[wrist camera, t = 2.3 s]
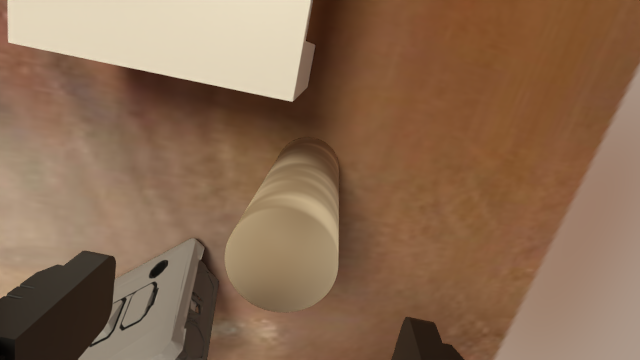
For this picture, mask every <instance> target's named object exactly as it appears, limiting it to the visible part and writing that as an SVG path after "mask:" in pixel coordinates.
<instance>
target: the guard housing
mask: <svg viewBox="0 0 640 360" xmlns="http://www.w3.org/2000/svg"><path fill="white" fill-rule="evenodd" d="M312 3H313V0H8V42H9V43H13V44H18V45H23V46H28V47H33V48H37V49H42V50H47V51H52V52H57V53H61V54H66V55H71V56H76V57H80V58H85V59H90V60H95V61H100V62H104V63H109V64H114V65H119V66H124V67H128V68H133V69H138V70H143V71H148V72H152V73H157V74H162V75H167V76H171V77H176V78H181V79H186V80H191V81H195V82H200V83H205V84H210V85H215V86H219V87H224V88H229V89H234V90H239V91H243V92H248V93H253V94H258V95H263V96H267V97H272V98H277V99H282V100H286V101H291V102H293V101H294V100H295V99H296V98H297V97H298V96H299V95H300V94H301V93H302V92H303V91H304V90H305V89H306V88H307V87H308V82H309V77H310V72H311V66H312V61H313V56H314V50H315V45H314V44H312V43H310V42H307V41H306V36H307V31H308V25H309V20H310V14H311V9H312Z"/></svg>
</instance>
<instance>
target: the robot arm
mask: <svg viewBox="0 0 640 360" xmlns="http://www.w3.org/2000/svg"><path fill="white" fill-rule="evenodd" d="M115 269H116V261H115V258H114V257H113V256H109V255H105V254H100V253H95V252H90V251H82V252H81V253H79V254H78V255H77V256H76V257H74V258H73V259H72V260H70V261H69V262H68V263H66V264H65V265H64V266H62V265H55V266H53V267H50V268H47V269H45V270H42V271H40V272H37V273H35V274H34V275H33V276H31V277H30V278H28V279H27V280H26V281H24V282H23V283H21V285H20V287H18V286H17V287H16V288H15V289H13V290H12V291H10V292H9V293H8V294H7V296H6V297H5V296H3V297H2V298H1V299H0V360H78V359H79V358H80V356H81V355H82V354H83V353H84V352H85V351H86V349H87V348H88V347H89V346H90V345H91V344H92V342H93V341H94V340H95V339H96V338H97V336H98V335H99V334H100V333H101V332H102V330H103V329H104V328H105V326H106V324H107V322H108V320H109V318H110V315H111V311H112V306H113V294H114V282H115ZM391 360H464V359H463V358H462V356H461V355H460V354H459V353H458V352H457V351H456V350H455V349H454V348H453V346H452V345H448V344H444V343H442V340H441V338H440V335H439V333H438V330H437V327H436V325H435V323H434V322H430V321H425V320H420V319H415V318H410V317H406V318H405V320H404V321H403V324H402V327H401V330H400V334H399V337H398V340H397V343H396V347H395V350H394V353H393V356H392V359H391Z"/></svg>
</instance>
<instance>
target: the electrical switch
mask: <svg viewBox="0 0 640 360" xmlns="http://www.w3.org/2000/svg"><path fill="white" fill-rule="evenodd" d="M203 252H204V246H203V245H202V244H201V243H199V242H198V241H197V240H196V239H195V238H192V239H189V240H187V241H185V242H183V243H181V244H180V245H178V246H176V247H174V248H172V249H170V250H168V251H167V252H165V253H163V254H161V255H159V256H157V257H155V258H154V259H152V260H150V261H148V262H146V263H144V264H143V265H141V266H139V267H137V268H135V269H133V270H131V271H130V272H128V273H126V274H124V275H122V276H120V277H118V278H117V279H115V282H114V294H113V306H112V311H111V315H110V318H109V320H108V322H107V324H106V326H105V328H104V329H103V330H102V332H101V333H100V334H99V335H98V336H97V338H96V339H95V340H94V341H93V342H92V344H91V345H90V346H89V347H88V348H87V349H86V351H85V352H84V353H83V354H82V355H81V356H80V358H79V359H78V360H207V357H208V350H209V344H210V337H211V330H212V324H213V317H214V310H215V304H216V297H217V290H218V284H219V281H218V280H217V279H216V278H215V277H214V276H213V275H212V274H211V273H210V272H209V271H208V269H207V267H206V266H205V264H204V263H203V262H202V261H201V260H200V259H202V255H203ZM197 295H198V296H199V298H200V299H201V300H202V301H201V300H199V299H198V296H197ZM197 306H198V311H199V314H198V313H196V312H195V309H196V307H197Z"/></svg>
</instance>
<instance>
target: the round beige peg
mask: <svg viewBox="0 0 640 360" xmlns="http://www.w3.org/2000/svg"><path fill="white" fill-rule="evenodd" d="M338 253H339V162H338V158H337V156H336V154H335V152H334V151H333V149H332V148H331V147H330V146H329V145H328V144H326V143H325V142H323V141H321V140H319V139H316V138H310V137H305V138H299V139H296V140H294V141H292V142H290V143H289V144H288V145H287V146H286V147H285V148H284V149H283V150H282V152H281V153H280V155H279V157H278V158H277V160H276V162H275V163H274V165H273V166H272V168H271V170H270V171H269V173H268V175H267V176H266V178H265V180H264V181H263V183H262V185H261V186H260V188H259V190H258V191H257V193H256V194H255V196H254V198H253V199H252V201H251V203H250V204H249V206H248V208H247V209H246V211H245V213H244V214H243V216H242V217H241V219H240V221H239V222H238V224H237V226H236V227H235V229H234V231H233V232H232V234H231V236H230V238H229V240H228V242H227V245H226V250H225V267H226V272H227V274H228V277H229V279H230V281H231V283H232V285H233V286H234V288H235V289H236V290H237V291H238V293H239V294H240V295H241V296H242V297H244V298H245V299H246V300H247V301H249V302H250V303H252V304H254V305H255V306H257V307H260V308H262V309H265V310H269V311H273V312H284V313H287V312H295V311H300V310H303V309H306V308H308V307H311V306H313V305H314V304H316V303H317V302H319V301H320V300H321V299H322V298H324V297H325V296H326V294H327V293H328V292H329V291H330V289H331V288H332V286H333V284H334V282H335V280H336V277H337V273H338Z"/></svg>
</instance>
